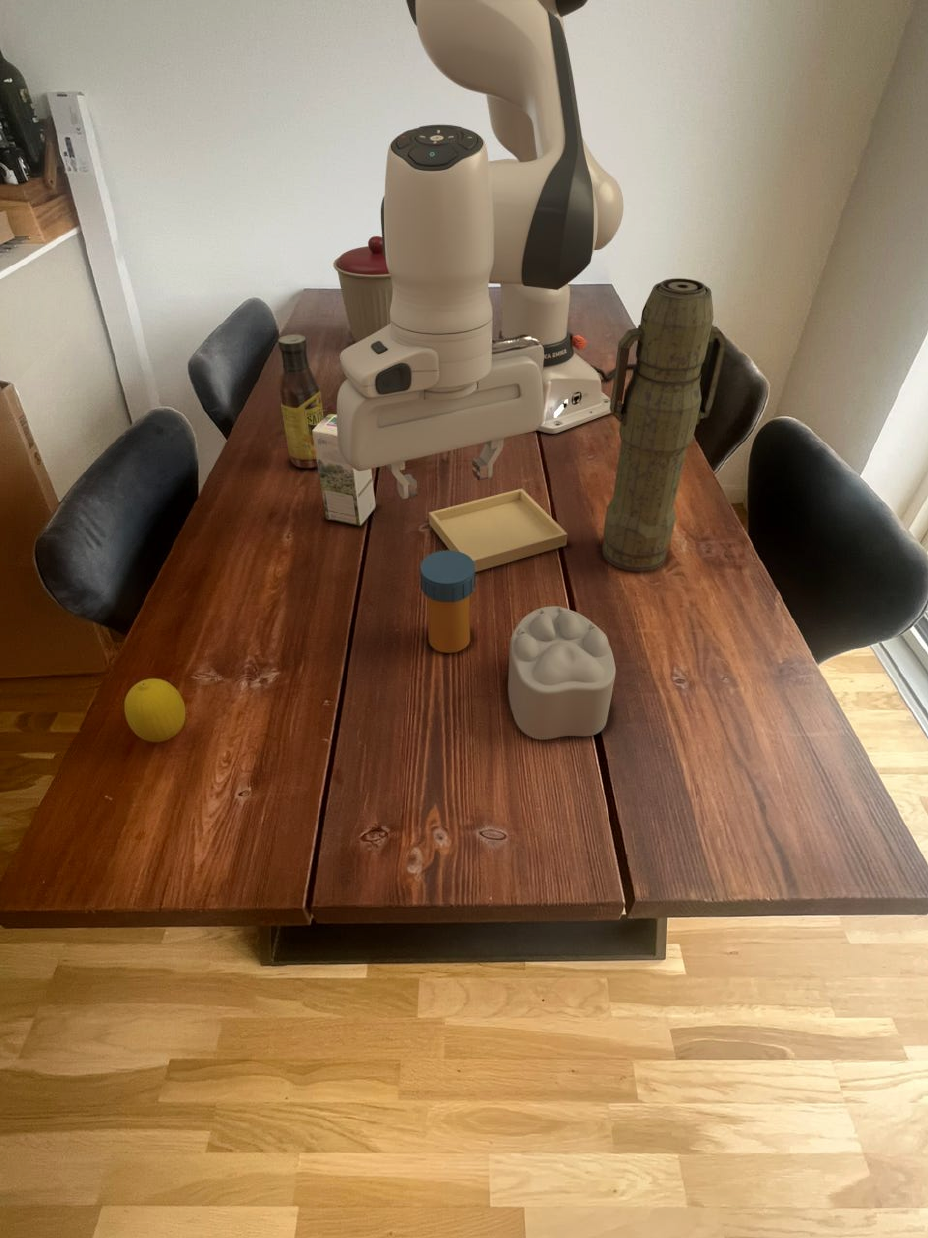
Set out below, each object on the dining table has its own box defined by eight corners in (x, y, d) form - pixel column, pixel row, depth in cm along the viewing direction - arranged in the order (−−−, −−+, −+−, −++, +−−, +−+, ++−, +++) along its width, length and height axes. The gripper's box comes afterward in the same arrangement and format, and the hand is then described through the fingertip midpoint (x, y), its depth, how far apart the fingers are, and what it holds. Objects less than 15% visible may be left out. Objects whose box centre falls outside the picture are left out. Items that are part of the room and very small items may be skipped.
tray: (521, 499, 111) (521, 488, 110) (566, 545, 102) (567, 533, 101) (429, 523, 106) (428, 512, 105) (468, 574, 97) (468, 562, 96)
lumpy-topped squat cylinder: (517, 741, 76) (520, 683, 70) (500, 654, 86) (503, 597, 80) (615, 734, 77) (627, 676, 71) (588, 648, 86) (596, 591, 81)
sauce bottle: (321, 472, 117) (303, 349, 104) (285, 468, 118) (261, 346, 105) (335, 452, 122) (318, 332, 109) (299, 449, 123) (279, 329, 110)
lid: (461, 563, 85) (461, 544, 84) (484, 593, 81) (484, 574, 79) (412, 577, 83) (411, 558, 82) (433, 608, 79) (433, 589, 78)
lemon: (145, 718, 79) (122, 665, 73) (198, 714, 79) (178, 662, 74) (132, 759, 74) (106, 706, 69) (188, 755, 75) (166, 702, 70)
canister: (442, 337, 161) (439, 232, 147) (393, 365, 149) (385, 254, 135) (377, 322, 168) (368, 220, 154) (325, 348, 157) (311, 240, 143)
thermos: (582, 538, 103) (615, 275, 80) (662, 530, 105) (716, 269, 82) (601, 576, 97) (643, 302, 74) (686, 567, 98) (753, 295, 75)
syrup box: (377, 506, 110) (368, 416, 100) (360, 528, 105) (349, 436, 96) (342, 500, 111) (330, 410, 101) (324, 521, 107) (310, 429, 97)
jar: (459, 620, 90) (458, 552, 83) (477, 645, 87) (477, 576, 80) (422, 632, 89) (418, 563, 82) (438, 658, 85) (435, 588, 78)
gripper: (528, 319, 70) (521, 450, 79) (321, 356, 64) (340, 493, 73) (562, 342, 66) (550, 477, 75) (344, 383, 59) (361, 525, 69)
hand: (445, 485), depth 74 cm, fingers open, 7 cm apart
